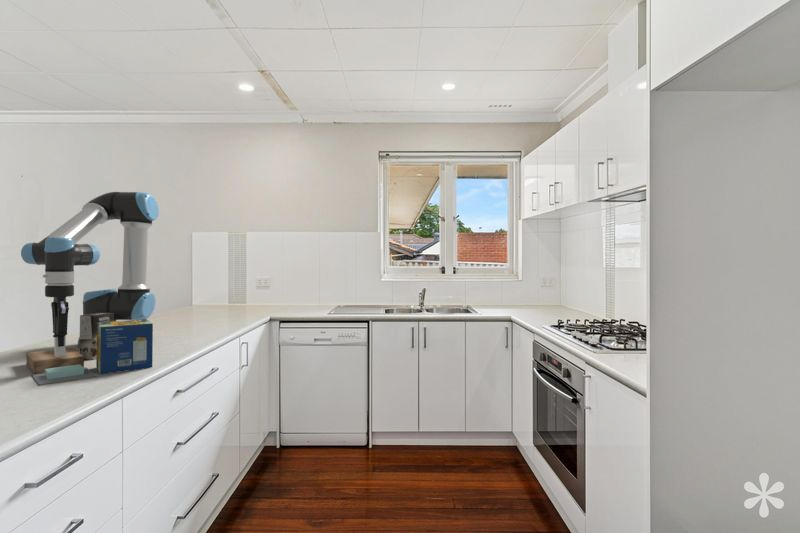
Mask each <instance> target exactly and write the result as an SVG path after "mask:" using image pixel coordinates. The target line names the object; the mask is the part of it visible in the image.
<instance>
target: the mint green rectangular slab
mask: <svg viewBox="0 0 800 533" xmlns="http://www.w3.org/2000/svg"><path fill="white" fill-rule="evenodd" d="M84 367H85V366H84ZM84 367H83V366H81V365H80V364H79V365H71V366H64V367H56V368H49V369H45V376H46V377H47V379H54V378H61V377H68V376H74V375H81V374H84Z"/></svg>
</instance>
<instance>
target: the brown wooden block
mask: <svg viewBox="0 0 800 533" xmlns="http://www.w3.org/2000/svg"><path fill="white" fill-rule="evenodd" d="M25 356H26V357H25V359H26V362H25V365H26V366H27V367H28V369H29V370H30V372H31V373H32V375H34V374H41V373H45V369H49V368H56V367H64V366H71V365H79V364H80V365H81V366H83V367H85V359H84V356H83V355H82V354H80V353H79V351H78V350H77V349H76V348H74V347H67V348H66V356H58V357H55V353H54V349H49V350H41V351H31V352H30V351H29V352H25Z"/></svg>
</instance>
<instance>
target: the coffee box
mask: <svg viewBox="0 0 800 533" xmlns="http://www.w3.org/2000/svg"><path fill="white" fill-rule="evenodd" d="M99 322H114V313H94V314H86V315H83V314H80V315H79V337H80V344H79V345H80V346H79V347H78V348H79V351H78V352H79V353H80V354H82V355H83V356H84V360H91V359H92V360H96V350H97V324H96V323H99ZM92 360H91V361H92Z"/></svg>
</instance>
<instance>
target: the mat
mask: <svg viewBox="0 0 800 533" xmlns="http://www.w3.org/2000/svg"><path fill="white" fill-rule="evenodd" d="M31 376H32V378H33V379H34V381H35V382H36V383H37V385H38V386H43V385H44V386H45V385H50V384H51V383H52V384H57V383H58V384H59V383H64V381H65V382H71V381H76V379H77V380H84V379H88V378H89V379H90V378H95V376H96V377H97V375H96V374H95V373H93V372H92V371H91V369H89V368H88V367H85V366H84V374H81V375H74V376H68V377H61V378H54V379H47V377H46V376H45V373H41V374H31ZM83 378H84V379H83ZM70 380H71V381H70ZM52 384H51V385H52Z"/></svg>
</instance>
